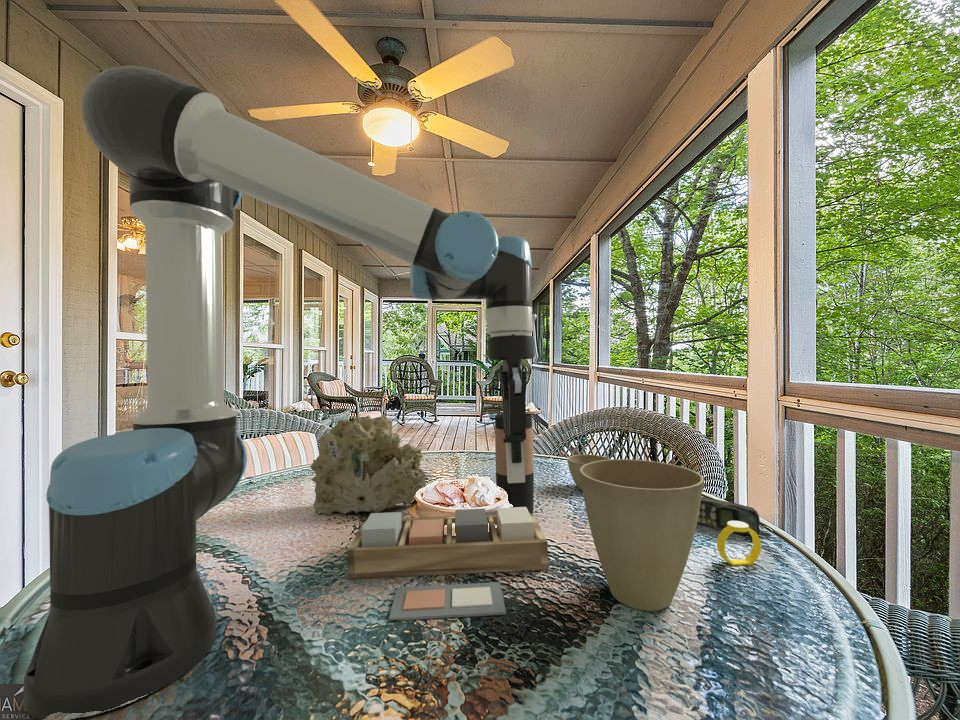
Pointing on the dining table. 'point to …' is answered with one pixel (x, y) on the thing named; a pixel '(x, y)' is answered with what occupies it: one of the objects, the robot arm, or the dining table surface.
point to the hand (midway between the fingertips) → (516, 481)
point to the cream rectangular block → (515, 524)
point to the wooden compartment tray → (447, 554)
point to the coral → (365, 468)
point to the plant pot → (642, 526)
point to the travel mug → (516, 491)
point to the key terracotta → (427, 532)
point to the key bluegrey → (382, 529)
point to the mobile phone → (728, 515)
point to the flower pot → (578, 461)
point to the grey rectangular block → (471, 526)
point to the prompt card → (447, 601)
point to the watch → (739, 527)
